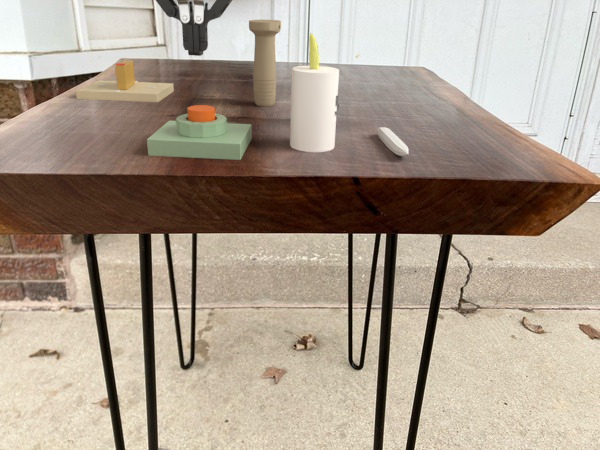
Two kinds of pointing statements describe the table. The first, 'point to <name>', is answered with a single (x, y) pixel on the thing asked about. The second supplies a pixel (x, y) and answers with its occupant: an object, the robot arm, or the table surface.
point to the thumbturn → (125, 75)
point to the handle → (264, 60)
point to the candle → (314, 104)
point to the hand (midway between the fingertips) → (195, 54)
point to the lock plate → (125, 91)
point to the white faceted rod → (392, 141)
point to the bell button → (201, 113)
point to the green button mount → (200, 139)
